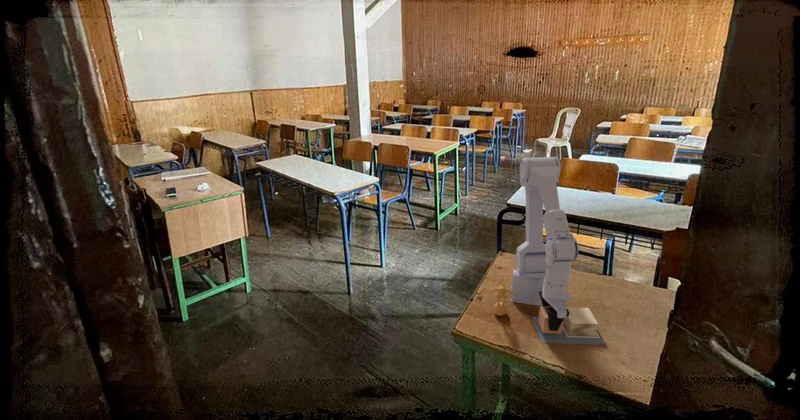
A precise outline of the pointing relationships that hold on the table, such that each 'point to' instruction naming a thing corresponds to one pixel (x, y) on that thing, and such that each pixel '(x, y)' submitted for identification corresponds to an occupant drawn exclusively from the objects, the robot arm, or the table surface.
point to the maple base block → (580, 322)
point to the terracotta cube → (546, 321)
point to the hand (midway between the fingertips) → (550, 323)
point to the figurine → (499, 307)
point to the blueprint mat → (565, 336)
